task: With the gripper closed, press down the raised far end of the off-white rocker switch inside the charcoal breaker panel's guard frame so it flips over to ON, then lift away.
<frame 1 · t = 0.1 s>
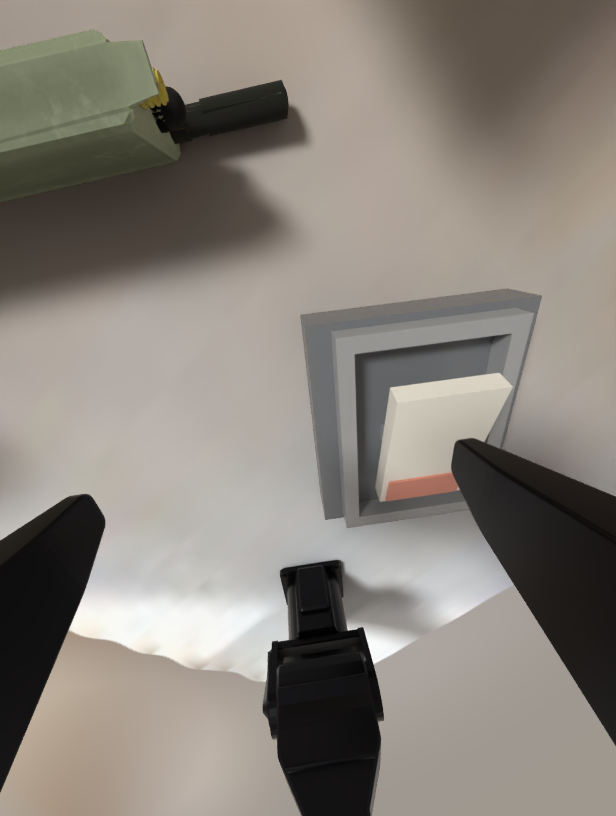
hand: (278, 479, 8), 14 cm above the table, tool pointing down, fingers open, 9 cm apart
breaker panel: (399, 406, 24), on the table
handheld radio: (48, 165, 16), on the table
breaker switch: (430, 448, 19), point 5 cm above the table, hinge at -15.0°
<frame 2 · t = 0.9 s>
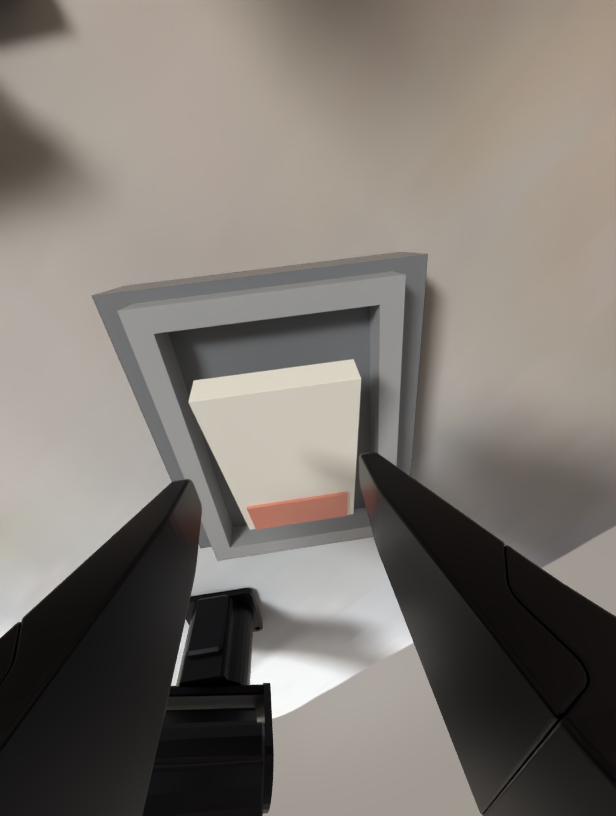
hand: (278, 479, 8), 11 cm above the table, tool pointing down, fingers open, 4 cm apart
breaker panel: (286, 407, 19), on the table
breaker switch: (291, 463, 14), point 5 cm above the table, hinge at -15.0°
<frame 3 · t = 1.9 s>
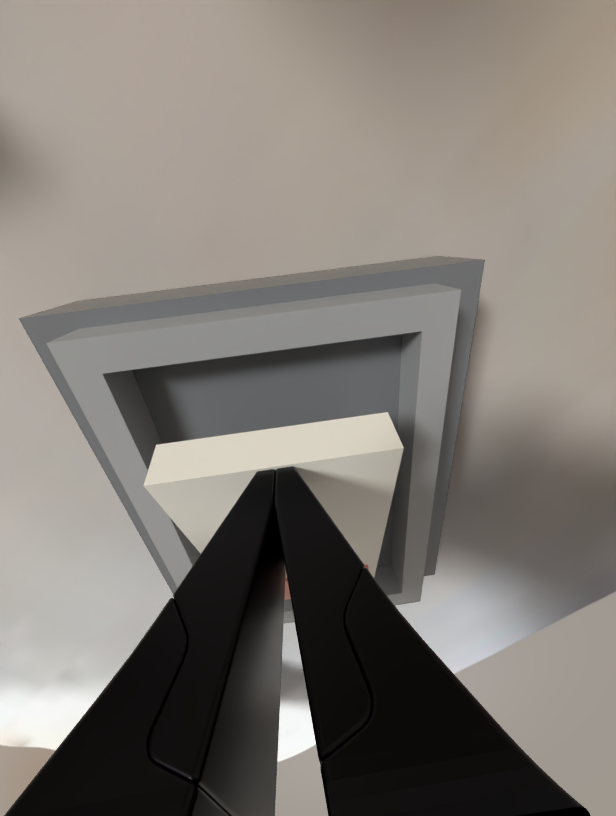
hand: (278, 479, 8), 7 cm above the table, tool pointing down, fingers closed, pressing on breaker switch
breaker panel: (289, 445, 16), on the table
breaker switch: (296, 536, 11), point 5 cm above the table, hinge at -15.0°, touching gripper
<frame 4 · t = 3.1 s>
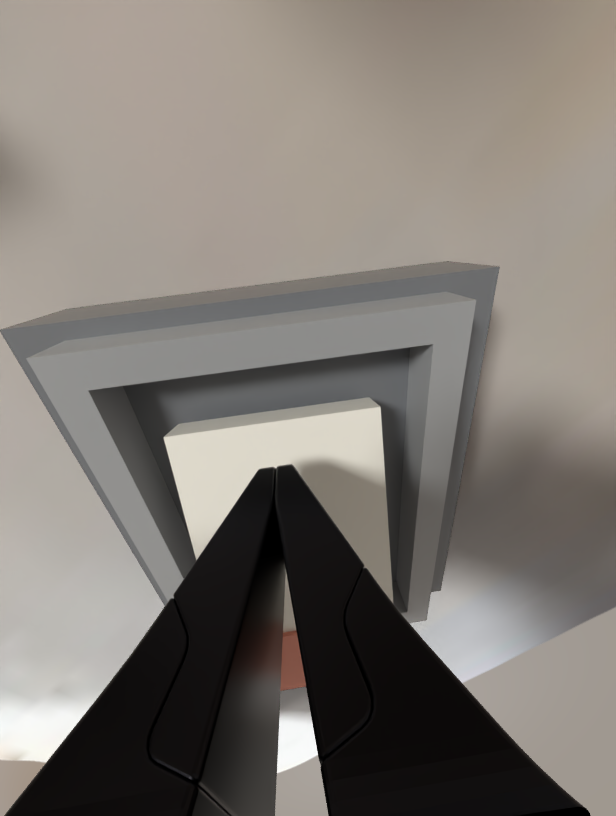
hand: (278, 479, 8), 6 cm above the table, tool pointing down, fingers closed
breaker panel: (290, 457, 15), on the table
breaker switch: (297, 558, 10), point 5 cm above the table, hinge at 13.7°
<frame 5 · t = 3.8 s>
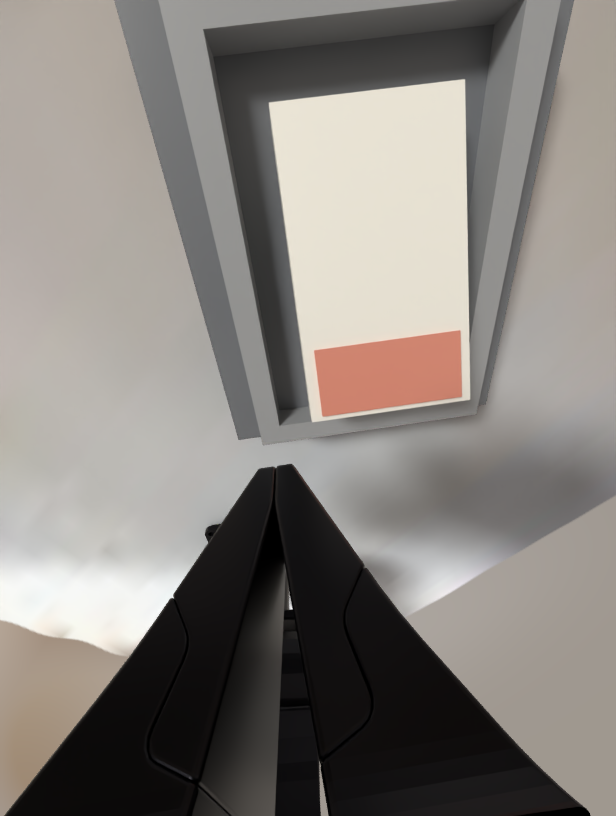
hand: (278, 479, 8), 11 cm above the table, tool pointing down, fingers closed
breaker panel: (346, 259, 15), on the table
breaker switch: (376, 271, 11), point 5 cm above the table, hinge at 18.0°
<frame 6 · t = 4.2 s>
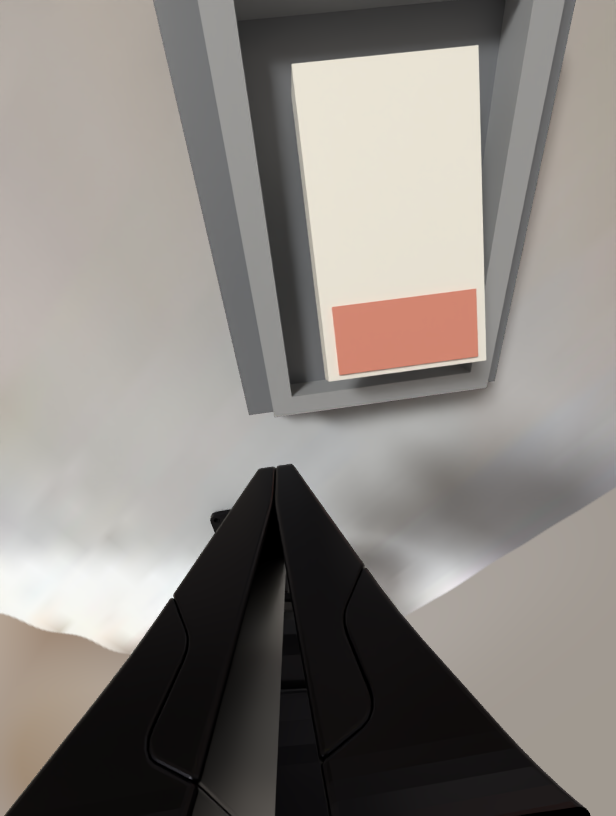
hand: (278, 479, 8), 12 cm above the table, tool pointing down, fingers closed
breaker panel: (357, 235, 16), on the table
breaker switch: (393, 232, 11), point 5 cm above the table, hinge at 18.9°
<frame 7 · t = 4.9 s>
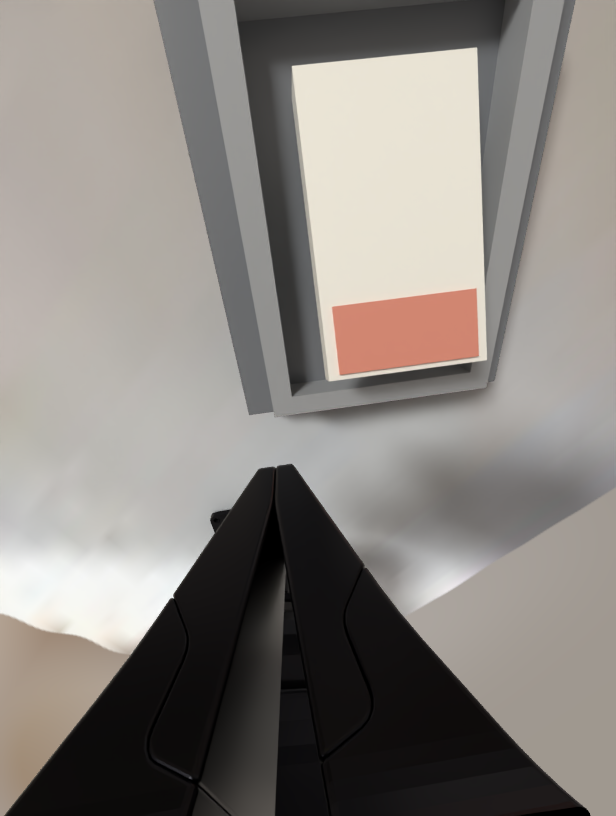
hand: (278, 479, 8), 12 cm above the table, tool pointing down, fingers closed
breaker panel: (357, 236, 16), on the table
breaker switch: (393, 232, 11), point 5 cm above the table, hinge at 19.5°
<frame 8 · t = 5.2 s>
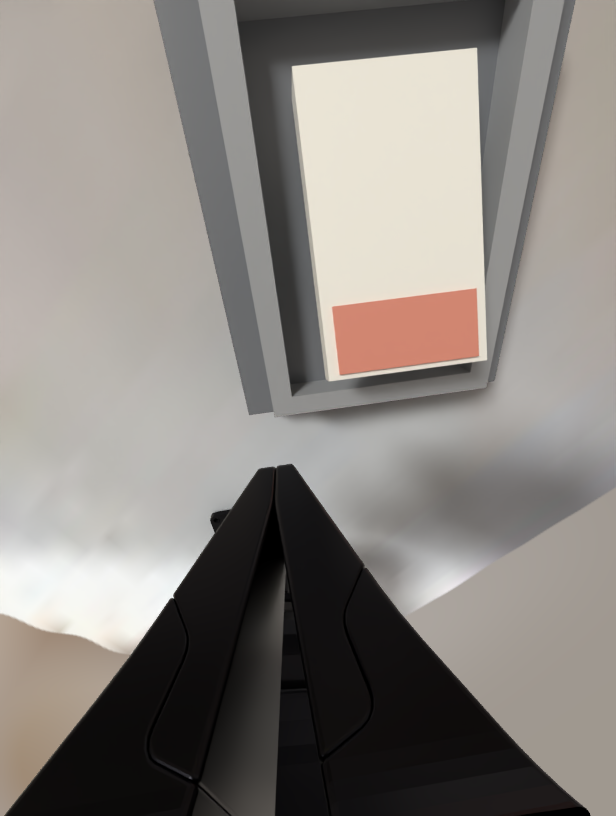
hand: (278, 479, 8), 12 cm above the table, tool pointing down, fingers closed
breaker panel: (357, 236, 16), on the table
breaker switch: (393, 232, 11), point 5 cm above the table, hinge at 19.6°
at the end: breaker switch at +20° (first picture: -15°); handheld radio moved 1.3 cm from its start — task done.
